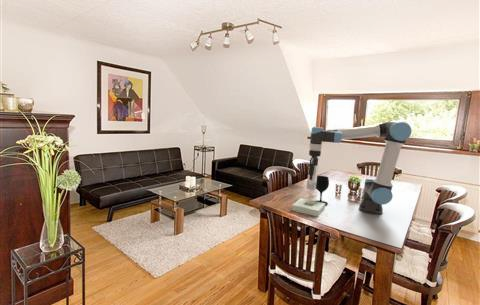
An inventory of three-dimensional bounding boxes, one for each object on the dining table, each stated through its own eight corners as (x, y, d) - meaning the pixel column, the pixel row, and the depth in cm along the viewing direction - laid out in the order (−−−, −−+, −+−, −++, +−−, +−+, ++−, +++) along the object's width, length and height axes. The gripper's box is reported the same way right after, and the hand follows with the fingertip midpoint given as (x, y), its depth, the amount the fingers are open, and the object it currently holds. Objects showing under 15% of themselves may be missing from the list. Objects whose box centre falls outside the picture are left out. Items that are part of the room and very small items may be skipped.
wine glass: (315, 204, 191) (317, 177, 190) (311, 200, 201) (312, 175, 200) (329, 204, 191) (331, 178, 190) (325, 201, 202) (326, 175, 200)
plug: (315, 188, 180) (318, 165, 178) (313, 190, 176) (316, 167, 174) (308, 187, 183) (310, 164, 180) (306, 188, 178) (308, 165, 176)
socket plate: (324, 208, 185) (325, 203, 185) (318, 216, 170) (318, 210, 169) (300, 203, 194) (300, 198, 194) (291, 210, 179) (292, 204, 178)
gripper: (313, 148, 185) (310, 179, 188) (305, 150, 169) (302, 185, 173) (324, 149, 181) (320, 181, 185) (317, 152, 166) (313, 187, 169)
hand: (311, 183), depth 179 cm, fingers closed on plug, 5 cm apart
